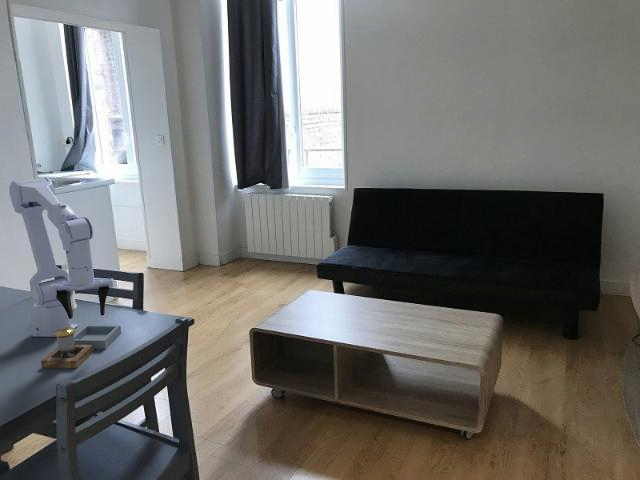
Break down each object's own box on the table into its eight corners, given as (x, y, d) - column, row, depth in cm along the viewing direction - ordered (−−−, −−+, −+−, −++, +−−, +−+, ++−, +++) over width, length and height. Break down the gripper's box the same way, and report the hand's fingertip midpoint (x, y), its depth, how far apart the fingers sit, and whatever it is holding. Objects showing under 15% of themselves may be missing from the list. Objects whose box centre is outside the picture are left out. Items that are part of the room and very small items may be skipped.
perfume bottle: (65, 305, 173) (59, 261, 169) (79, 305, 173) (73, 261, 169) (60, 310, 168) (53, 266, 164) (74, 310, 168) (68, 265, 165)
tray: (69, 348, 142) (68, 340, 141) (87, 333, 151) (86, 325, 151) (105, 349, 141) (104, 340, 141) (121, 333, 151) (120, 325, 150)
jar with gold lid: (55, 363, 134) (50, 334, 132) (64, 355, 138) (60, 327, 136) (73, 363, 133) (68, 334, 131) (81, 355, 138) (77, 327, 136)
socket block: (42, 367, 132) (40, 360, 131) (60, 351, 140) (59, 344, 140) (77, 368, 131) (76, 360, 131) (94, 351, 140) (93, 344, 139)
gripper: (45, 273, 128) (53, 325, 132) (109, 267, 132) (115, 318, 135) (51, 265, 135) (58, 314, 138) (112, 259, 138) (117, 308, 142)
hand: (87, 315), depth 137 cm, fingers open, 7 cm apart
